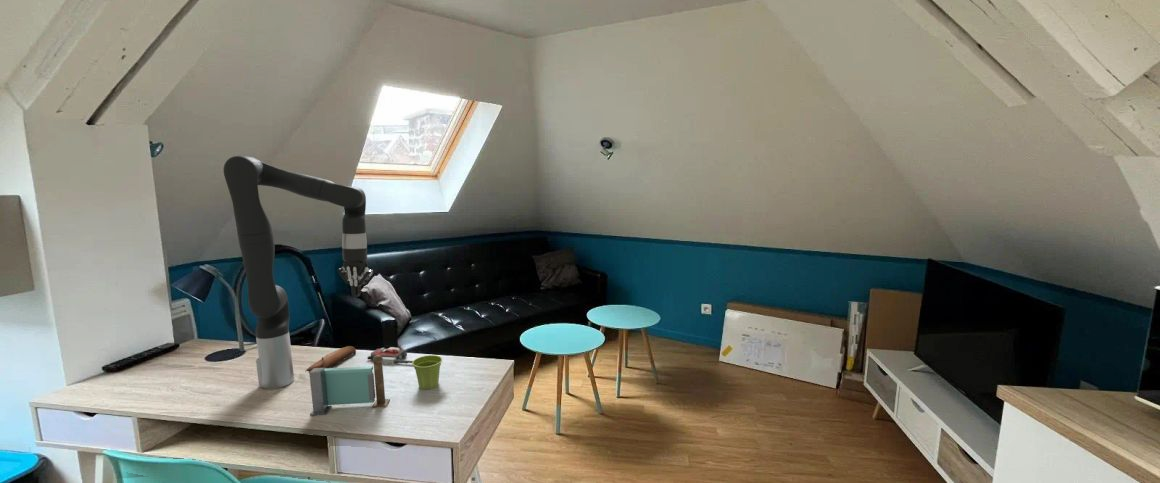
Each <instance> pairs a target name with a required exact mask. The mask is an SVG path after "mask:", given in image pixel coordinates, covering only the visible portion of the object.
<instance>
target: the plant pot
mask: <svg viewBox="0 0 1160 483" xmlns="http://www.w3.org/2000/svg"><path fill="white" fill-rule="evenodd" d="M412 361H413V362H412V363H411V365H412V366H413V368H414V370H415V374H416V378H417V384H418V388H420V390H431V389H435V388H437V387H438V385H439V382H440V381H439V380H440V369H441V364H442V361H443V357H441V356H439V355H437V354H436V355H435V354H430V355H423V356H420V357H416V358H415V359H413V360H412Z"/></svg>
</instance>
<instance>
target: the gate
mask: <svg viewBox="0 0 1160 483" xmlns="http://www.w3.org/2000/svg"><path fill="white" fill-rule="evenodd" d="M373 371H374V365H369V366H366V365H365V366H350V367H349V366H348V367H332V368H325V378H326V388H327V398H328V406H336V405H337V406H338V405H353V404H354V405H355V404H356V405H358V404H370V403H372V404H374V403H375V401H376V387H375V375H374V372H373Z"/></svg>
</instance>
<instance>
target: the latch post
mask: <svg viewBox="0 0 1160 483" xmlns="http://www.w3.org/2000/svg"><path fill="white" fill-rule="evenodd" d="M308 374H309V383H310V393H311V402H312V403H311V404H312V411H311V412H310V414H309V416H311V417H313V416H317V417H318V416H326V415H328V414H329V412H330V410H331V409H332V408H333V405H328V398H327V388H326V378H325V368H314V369H312V370H311V371H310V372H308Z"/></svg>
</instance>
